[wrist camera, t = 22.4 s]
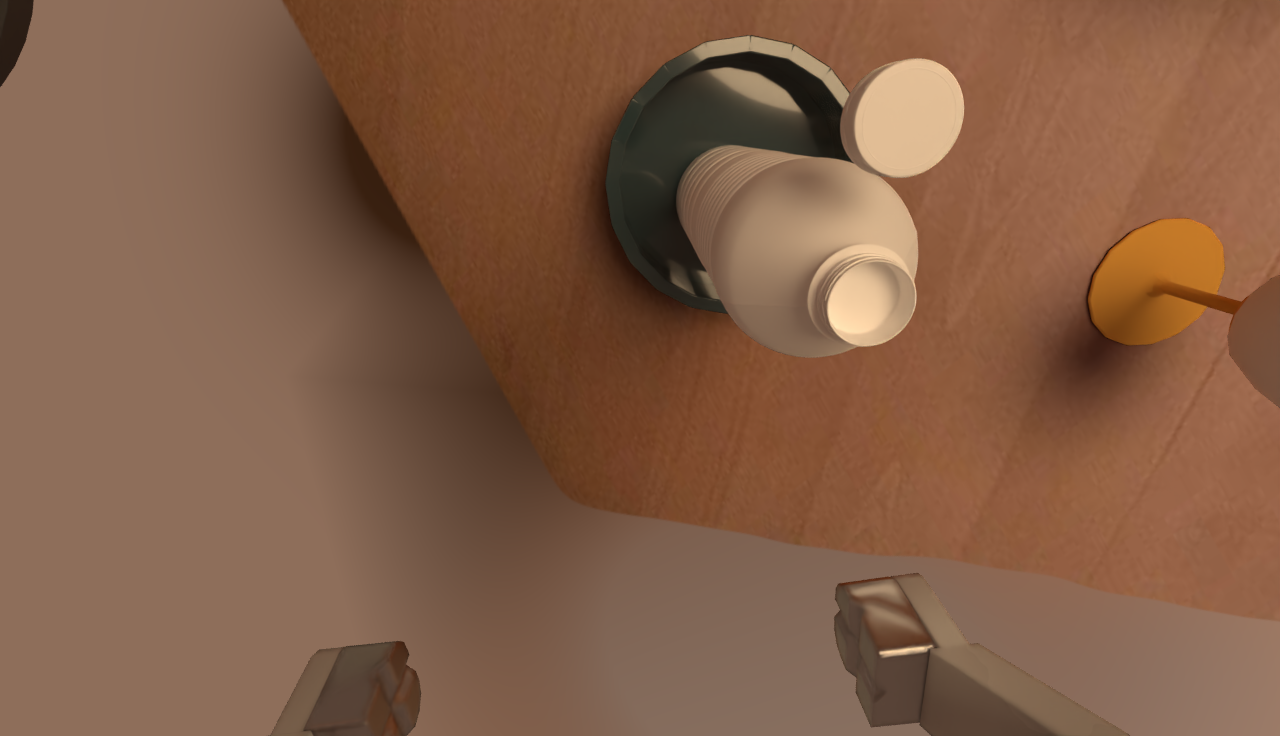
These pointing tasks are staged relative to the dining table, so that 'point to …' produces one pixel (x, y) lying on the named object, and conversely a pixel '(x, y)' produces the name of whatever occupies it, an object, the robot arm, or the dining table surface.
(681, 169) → the holder
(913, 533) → the dining table surface
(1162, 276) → the cup
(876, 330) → the water bottle
